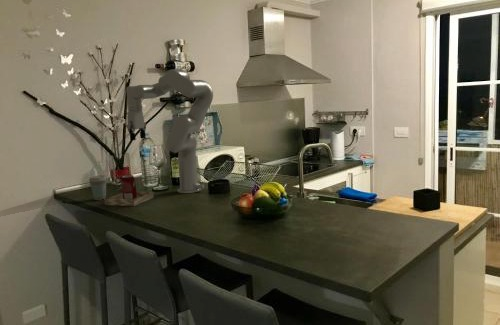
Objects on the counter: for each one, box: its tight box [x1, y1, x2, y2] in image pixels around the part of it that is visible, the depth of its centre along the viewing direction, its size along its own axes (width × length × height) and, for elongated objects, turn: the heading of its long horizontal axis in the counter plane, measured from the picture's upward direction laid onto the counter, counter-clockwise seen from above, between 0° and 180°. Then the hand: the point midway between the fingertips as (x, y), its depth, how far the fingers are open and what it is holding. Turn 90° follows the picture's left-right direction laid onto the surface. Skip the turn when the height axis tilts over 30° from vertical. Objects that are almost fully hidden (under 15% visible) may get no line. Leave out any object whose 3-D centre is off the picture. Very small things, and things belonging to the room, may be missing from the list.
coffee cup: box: [88, 174, 107, 201], centre depth 216 cm, size 9×8×12 cm
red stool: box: [120, 174, 137, 200], centre depth 208 cm, size 7×7×12 cm
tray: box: [103, 191, 155, 207], centre depth 208 cm, size 17×17×3 cm
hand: (138, 139), depth 235 cm, fingers open, 9 cm apart
